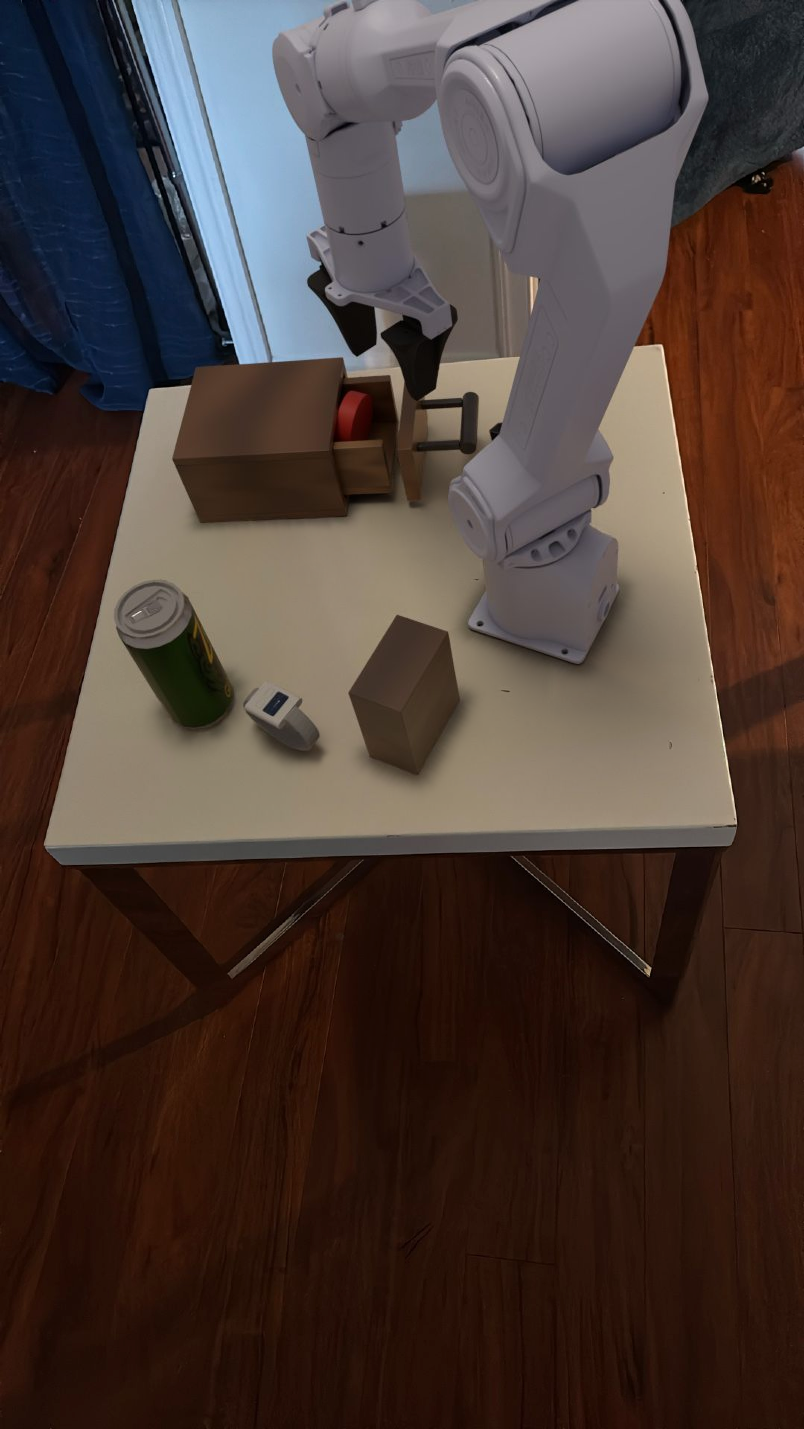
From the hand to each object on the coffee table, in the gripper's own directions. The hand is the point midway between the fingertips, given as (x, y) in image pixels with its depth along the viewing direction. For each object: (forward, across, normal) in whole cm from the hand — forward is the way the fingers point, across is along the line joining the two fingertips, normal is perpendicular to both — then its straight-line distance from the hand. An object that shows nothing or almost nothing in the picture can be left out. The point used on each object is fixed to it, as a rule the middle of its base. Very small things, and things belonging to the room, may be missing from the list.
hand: (393, 370), depth 82 cm
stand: (+10, +21, -17) cm, 29 cm away
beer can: (+11, +8, -27) cm, 30 cm away
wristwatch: (+11, +15, -24) cm, 30 cm away
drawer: (+10, -2, -2) cm, 10 cm away
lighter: (+11, +8, +8) cm, 15 cm away
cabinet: (+10, -8, -9) cm, 16 cm away
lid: (+6, -3, -2) cm, 7 cm away
